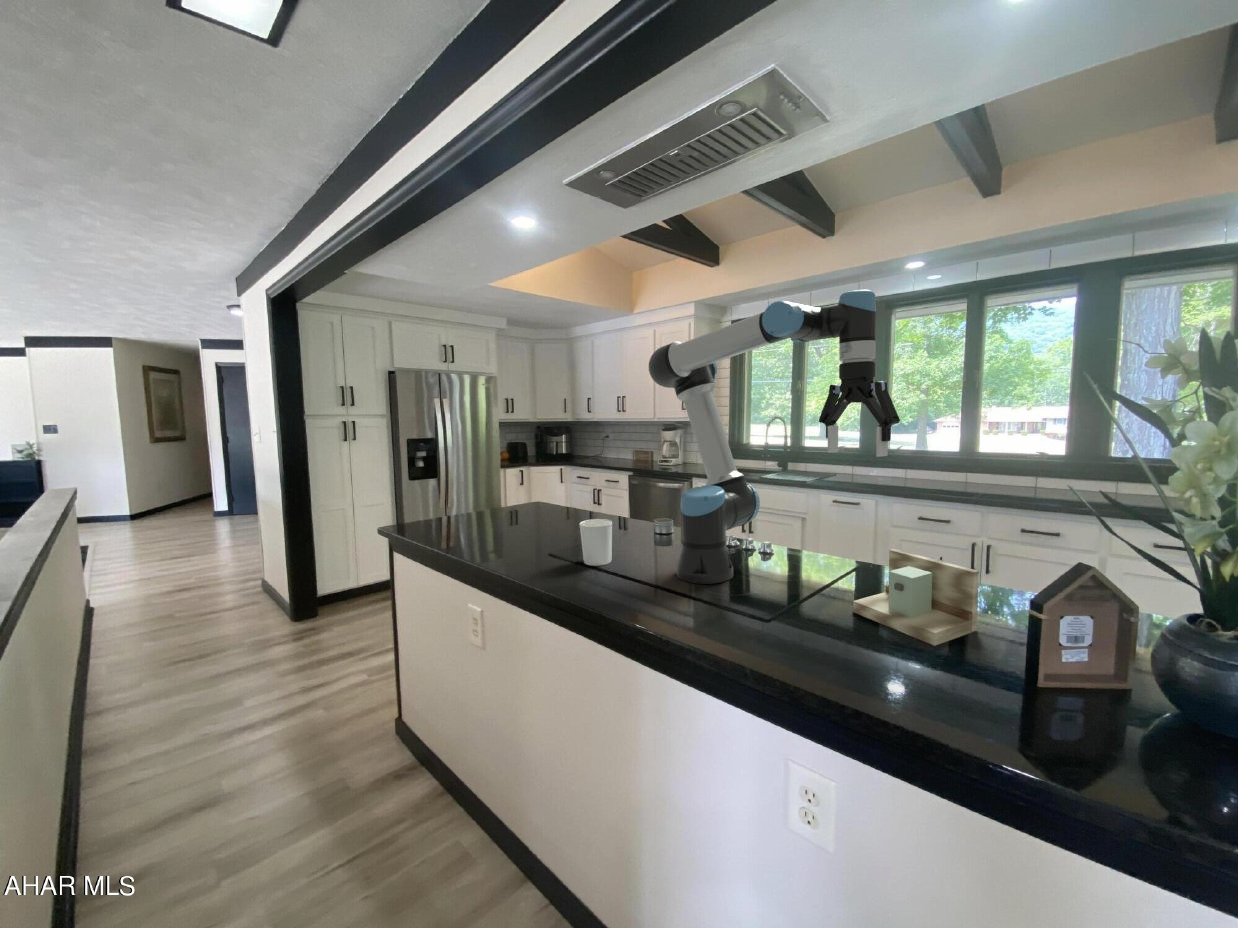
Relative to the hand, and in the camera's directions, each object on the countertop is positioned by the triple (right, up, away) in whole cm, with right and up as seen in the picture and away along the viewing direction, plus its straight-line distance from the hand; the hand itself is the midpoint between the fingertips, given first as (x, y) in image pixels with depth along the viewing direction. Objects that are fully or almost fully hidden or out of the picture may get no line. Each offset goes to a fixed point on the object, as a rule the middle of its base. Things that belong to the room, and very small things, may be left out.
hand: (856, 454), depth 120 cm
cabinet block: (+4, -32, -15) cm, 36 cm away
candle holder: (-62, -32, +35) cm, 78 cm away
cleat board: (+5, -34, -14) cm, 38 cm away
